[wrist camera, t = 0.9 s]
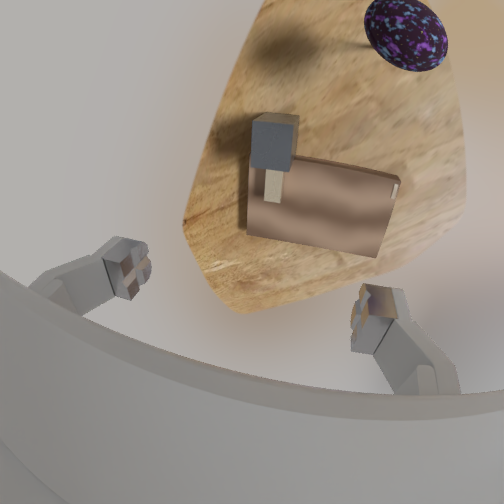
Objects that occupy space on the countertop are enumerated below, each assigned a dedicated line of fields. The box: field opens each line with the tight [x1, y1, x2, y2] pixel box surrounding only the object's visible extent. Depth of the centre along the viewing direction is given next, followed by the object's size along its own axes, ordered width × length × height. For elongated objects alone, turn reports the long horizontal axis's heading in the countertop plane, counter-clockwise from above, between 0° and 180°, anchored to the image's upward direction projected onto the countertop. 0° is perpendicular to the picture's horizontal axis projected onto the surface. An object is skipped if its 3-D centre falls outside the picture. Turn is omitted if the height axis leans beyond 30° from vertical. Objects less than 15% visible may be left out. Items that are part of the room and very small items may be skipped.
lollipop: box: [364, 0, 448, 72], centre depth 15 cm, size 7×7×15 cm
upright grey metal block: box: [250, 112, 300, 203], centre depth 29 cm, size 10×4×7 cm, turn 178°
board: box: [247, 153, 401, 258], centre depth 34 cm, size 12×19×2 cm, turn 88°
